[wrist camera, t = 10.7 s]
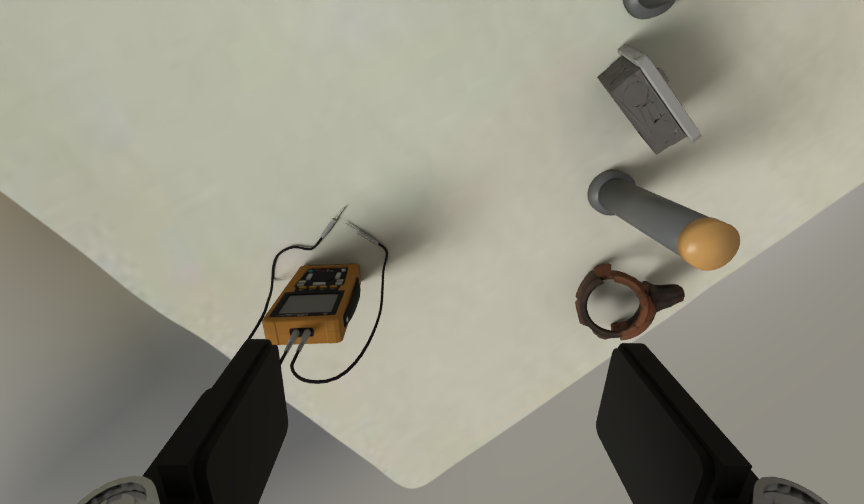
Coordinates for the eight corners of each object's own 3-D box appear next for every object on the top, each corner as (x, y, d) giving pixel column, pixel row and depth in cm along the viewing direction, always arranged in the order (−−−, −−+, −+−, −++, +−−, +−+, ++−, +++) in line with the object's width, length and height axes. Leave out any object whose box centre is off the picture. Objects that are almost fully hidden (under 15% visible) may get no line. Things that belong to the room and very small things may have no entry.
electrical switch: (670, 112, 43) (722, 124, 35) (628, 145, 45) (668, 164, 37) (622, 42, 41) (665, 37, 32) (579, 80, 43) (610, 85, 34)
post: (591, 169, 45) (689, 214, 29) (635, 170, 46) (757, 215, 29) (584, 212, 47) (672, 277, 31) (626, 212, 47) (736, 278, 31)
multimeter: (385, 204, 47) (360, 278, 28) (390, 281, 50) (372, 393, 32) (258, 208, 46) (148, 286, 28) (273, 286, 50) (185, 400, 32)
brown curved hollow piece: (592, 338, 55) (589, 356, 47) (566, 273, 56) (559, 280, 48) (689, 313, 50) (704, 328, 42) (660, 242, 51) (668, 244, 43)
